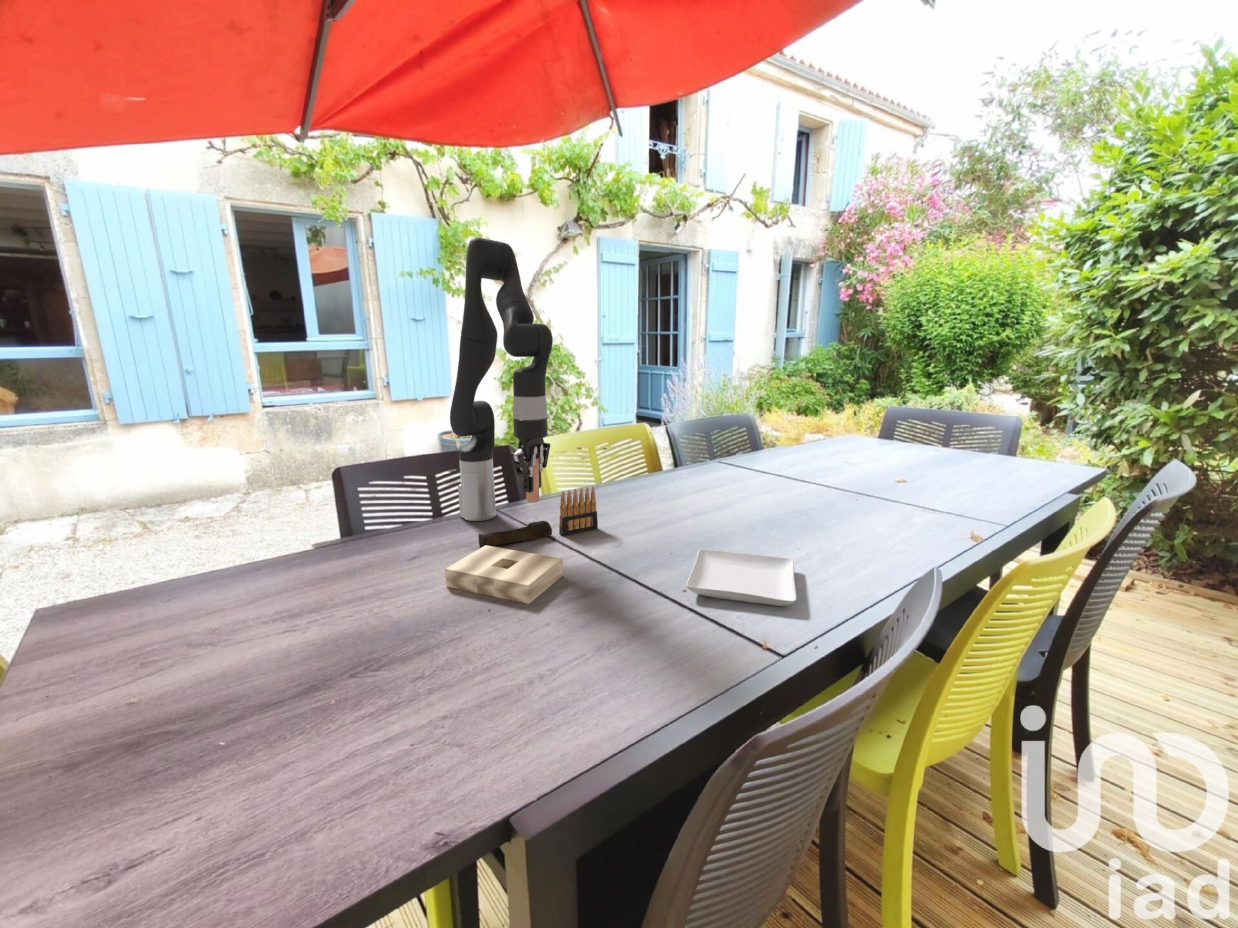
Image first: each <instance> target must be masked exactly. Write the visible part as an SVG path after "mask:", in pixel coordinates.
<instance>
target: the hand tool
mask: <svg viewBox="0 0 1238 928" xmlns="http://www.w3.org/2000/svg"><path fill="white" fill-rule="evenodd" d="M552 534H553V528H552V526H551V525H550V523H549V522H548V521H547V520H539V521H532V522H529V523H528V524H527V526H524V527H519V528H513V529H508V530H503V531H496V532H489V533H485V534H484V533H483V534H480V533H479V534H478V546H479V549H480V548H482V547H483V546H485V545H487V546H493V547H498V546H503V545H507V544H513V543H518V542H523V541H528V540H529V541H532V542H533V541H534V542H535V541H538V540H542V539H545V538H548V537H551V536H552Z"/></svg>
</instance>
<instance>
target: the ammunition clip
mask: <svg viewBox="0 0 1238 928" xmlns="http://www.w3.org/2000/svg"><path fill="white" fill-rule="evenodd" d="M578 493H579V494H578ZM572 495H573V498H572ZM559 508H560V509H559V513H560V515H559V532H558V533H559V535H560V536H561V537H566V536H570V535H576V534H581V533H585V532H590V531H591V532H592V531H595V530H598V529H599V527H598V526H599V525H598V524H599V522H598V511H597V500H596V490H595V487H594V486H593V485H592V487H591V490H590V489H589V487H588V486H587V487H585V491H584V490H583V488H582V487H581V488H580V490H579V492H577V489H576V488H575V489H574V490H573V494H572V493H571V490H570V489H568V491H567V496H566V495H565V492H564V490H562V491H561V495H560V507H559ZM580 532H581V533H580Z"/></svg>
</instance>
